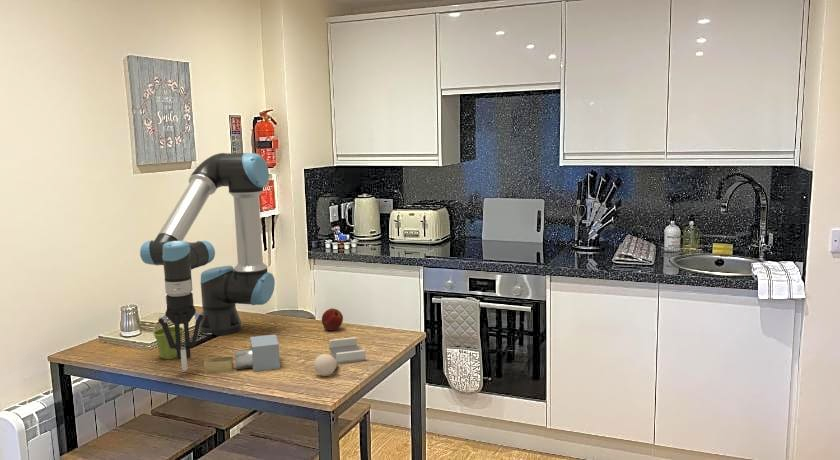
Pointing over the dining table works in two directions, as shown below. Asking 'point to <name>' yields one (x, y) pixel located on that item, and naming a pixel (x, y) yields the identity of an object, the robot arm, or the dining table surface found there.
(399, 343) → the dining table surface
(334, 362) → the beige ball knob
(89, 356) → the dining table surface
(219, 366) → the translucent yellow block
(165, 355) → the plant pot
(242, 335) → the dining table surface
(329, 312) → the apple
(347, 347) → the rest
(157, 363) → the dining table surface
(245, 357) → the silver metal cylinder
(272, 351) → the block
